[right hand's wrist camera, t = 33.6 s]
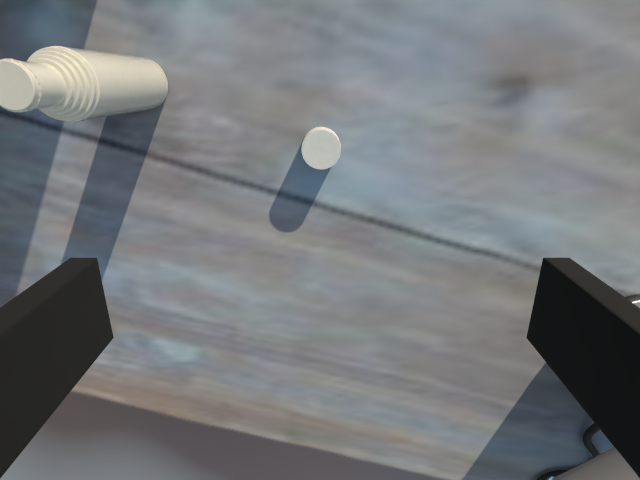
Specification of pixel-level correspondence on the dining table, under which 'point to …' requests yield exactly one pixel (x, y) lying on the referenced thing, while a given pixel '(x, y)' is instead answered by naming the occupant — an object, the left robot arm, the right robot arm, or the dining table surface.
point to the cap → (321, 148)
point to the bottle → (81, 84)
